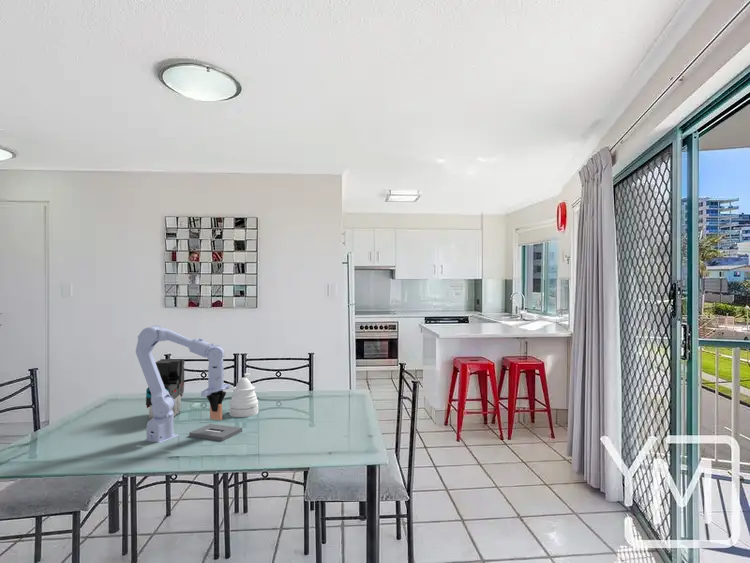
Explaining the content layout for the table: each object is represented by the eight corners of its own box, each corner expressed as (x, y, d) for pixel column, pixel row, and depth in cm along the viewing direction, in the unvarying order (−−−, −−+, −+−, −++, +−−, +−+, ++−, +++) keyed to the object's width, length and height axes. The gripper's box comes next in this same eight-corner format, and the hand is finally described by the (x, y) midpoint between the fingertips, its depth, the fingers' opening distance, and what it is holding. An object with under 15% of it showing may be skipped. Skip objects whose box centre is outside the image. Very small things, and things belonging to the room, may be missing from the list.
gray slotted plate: (222, 442, 175) (222, 436, 175) (189, 437, 181) (189, 432, 181) (242, 432, 186) (242, 427, 186) (210, 428, 192) (210, 423, 192)
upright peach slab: (220, 420, 182) (220, 405, 182) (210, 418, 184) (210, 403, 184) (222, 419, 183) (222, 404, 183) (212, 418, 185) (212, 403, 185)
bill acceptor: (144, 425, 196) (144, 367, 196) (161, 411, 219) (161, 358, 219) (170, 424, 198) (170, 366, 198) (185, 410, 220) (184, 357, 220)
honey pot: (244, 408, 224) (244, 370, 224) (264, 411, 217) (264, 373, 217) (223, 414, 213) (223, 375, 213) (243, 418, 206) (243, 378, 206)
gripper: (211, 381, 175) (211, 416, 175) (235, 373, 189) (235, 407, 189) (196, 379, 178) (196, 414, 178) (221, 372, 192) (221, 405, 191)
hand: (216, 410), depth 184 cm, fingers closed on upright peach slab, 1 cm apart
